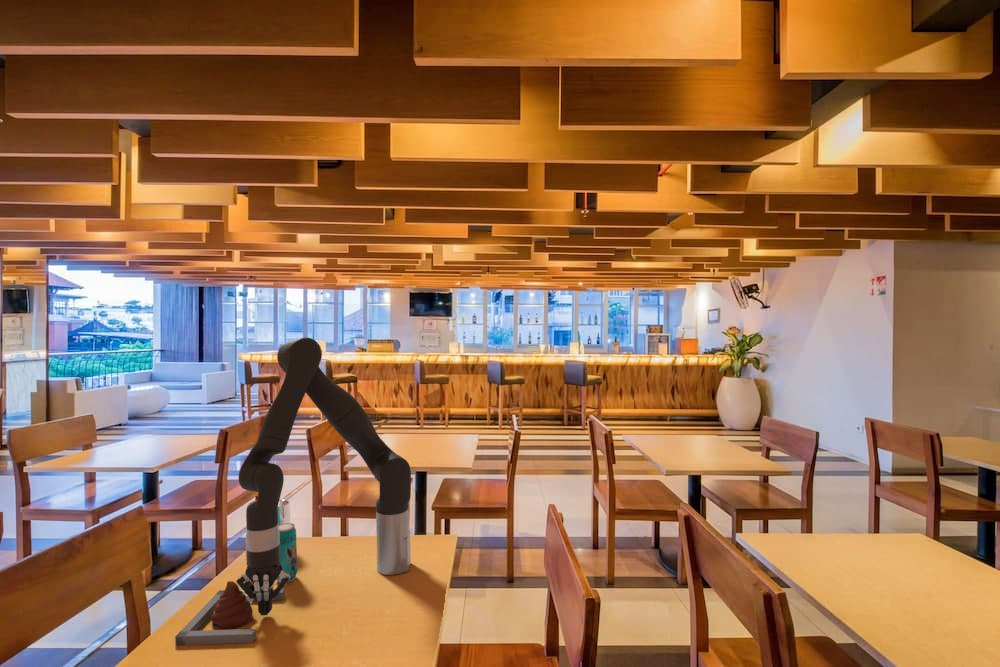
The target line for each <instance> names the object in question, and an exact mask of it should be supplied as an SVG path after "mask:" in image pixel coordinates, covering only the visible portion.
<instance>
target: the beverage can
mask: <svg viewBox="0 0 1000 667" xmlns="http://www.w3.org/2000/svg"><path fill="white" fill-rule="evenodd" d="M278 527H279V533H280V564H281V566H282V571H284V572H285V573H286V574H287V573H291V577H290V579H289V580H288V581H287V583H286V584H289V583H291V582H293V581H294V580H295V579H296V576H297V574H298V558H297V557H298V556H297V555H298V554H297V548H298V547H297V529H296V525H295V523H291V522H290V523H285V524H280V525H278ZM279 578H280V576H278V578H277V579H276V581H277V583H278V584H280V582H279Z"/></svg>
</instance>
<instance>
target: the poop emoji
mask: <svg viewBox="0 0 1000 667" xmlns="http://www.w3.org/2000/svg"><path fill="white" fill-rule="evenodd" d="M239 587H240V586H239V585H238V584H237V582H236V581H235V582H234V580H233V581H232V580H228V581H227V582H226V587H225V588H224V589H223V590H224V593H223V594H221V595H220V598H219V600H218V603H217V605H216V607H215V610H214V612H213V614H212V615H211V616H210V618H211V622H212V623H213V624H214V625H217V626H218V627H220V628H223V629H224V630H234V629H237V628H239V627H241V626H245V624H247V623H248V622H249V621H250V620H251V619H252V617H253V614H254V613H253V612H254V611H253V607H252V605H251V604H252V603H253V602H254V601H253V599H250V598H249V596H248V595H247V594H245V592H244V591H243V590H242V589H240V588H239Z"/></svg>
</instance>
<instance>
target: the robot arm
mask: <svg viewBox="0 0 1000 667" xmlns="http://www.w3.org/2000/svg"><path fill="white" fill-rule="evenodd" d="M322 352H323V350H322V348H321V345H320V344H319V343H318V341H316V340H315V339H313V338H311V337H300V338H299V337H298V338H296V339H292V340H290V341H287V342H285V343H284V344H283V343H282V345H281V346H280V347H279V349H277V355H276V356H277V357H276V358H277V364H278V365H279V366H280V368H281V370H282V371H283V372H284V373H285V377H284V379H283V382H282V384H281V386H280V389H279V392H278V393H277V395H276V396H275V398H274V400H273V402H272V403H271V404H270V406H269V409H268V411H267V413H266V415H265V417H264V419H263V422H262V425H261V428H260V430H259V433H258V437H257V440H256V442H255V444H254V445H253V447H251V450H250V451H249V453H248V454H247V456H246V457H245V459H244V461H243V463H241V466H240V469H239V472H238V483H239V486H240V488H242V489H243V490H245V491H248V492H255V493H258V494H257V499H256V500H253V501H251V502H250V503H249V504H248V505H247V507H246V512H245V513H246V516H245V521H246V532H245V550H246V552H245V553H246V554H245V556H246V560H245V561H246V568H245V572H244V573H243V574H241V575H240V576H238V578H237V580H236V581H235V583H236V584H237V585H238V587H240V588H241V590H243V591H244V592H245V593H246V594H247V595H248V596H249V598H250V599H253V598H255V599H257V601H256V602H257V610H258V613H259V614H260V616H268V615H269V613H271V611H272V610H273V600H272V598H275V597H276V596H277V595H278V593H279V592H280V591H281V589H284V587H285V585H286V584H288V583H287V581H288V580H289V579H290V577H291V573H287V574H286V573H285V572H284V571H282V566H281V564H280V533H279V527H278V503H279V500H281V495H282V492H283V486H284V481H285V480H284V479H285V478H284V472H283V470H282V468H281V467H280V466H279V465H278V464H276V463H271V462H270V461H271V460H272V459H273V457H274V456H276V455H280V454H283V453H284V452H285V450H287V445H288V442H289V440H290V436H291V433H292V430H293V426H294V425H295V421H296V418H297V415H298V412H299V409H300V407H301V404H302V402H303V399H304V398H305V395H307V396H308V397H309V399H310V400H311V402H313V404H314V405H315V407H316V408H317V409H318V410H319V411H320V412H321V414H322V415H323V416H324V418H325V419H326V420H327V421H328V423H329V424H330V425H331V426H332V427H333V429H334V430H335V431H336V433H338V435H339V436H340V437H341V438H343V440H344V441H345V442H347V444H348V445H349V446H351V447H352V448H353V449H354V450H355V451H356V452H357V453H358V454H359V455H360V457H361V458H362V459H363V461H364V463H365V464H366V466H367V467H368V468H369V471H370V472H371V473H372V475H373V477H374V478H375V480H376V481H378V483H379V496H378V497H379V498H377V500H376V502H375V513H376V514H375V515H376V516H375V519H376V523H375V524H376V529H375V530H376V565H377V566H376V570H377V572H378V573H379V574H382V575H385V576H395V575H400V574H402V573H403V574H404V573H408V572H409V570H410V566H411V560H412V559H411V531H410V530H409V528H410V526H409V524H410V522H409V519H410V518H409V516H410V515H409V504H410V500H411V491H412V488H411V487H412V472H411V467H410V464H409V462H408V461H407V459H405V458H404V457H402V456H401V455H399V454H397V453H396V452H394V451H393V450H392V449H391V448H390V447H389V446H388V445H387V444H386V443H385V442H384V441H383V440H382V438H381V437H380V436H379V435H378V433H377V430H376V429H375V427H374V425H373V422H372V421H371V419H370V417H369V415H368V414H367V412H366V411H365V409H364V408H363V406H362V405H360V403H359V402H358V401H357V399H355V397H354V396H353V395H352V394H351V393H350V392H348V391H347V390H345V389H344V388H343V387H341V386H340V385H338V384H337V383H335V382H334V381H333V380H331V379H330V378H329V377H328V376H327V375H326V374H325V373H324V372H323V370H322V369H321V368H320V367H319V365H320V363H321V362H322V357H323V353H322ZM278 576H280V578H279V582H280V583H279V582H278V586H276V587H275V588H274V585H275V582H276V581H277V578H278ZM273 589H275V590H273Z"/></svg>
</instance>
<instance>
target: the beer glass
mask: <svg viewBox="0 0 1000 667" xmlns="http://www.w3.org/2000/svg"><path fill="white" fill-rule="evenodd" d="M285 523H291V505H290V501H289V500H287V499H280V500H279V503H278V525H280V524H285Z"/></svg>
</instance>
